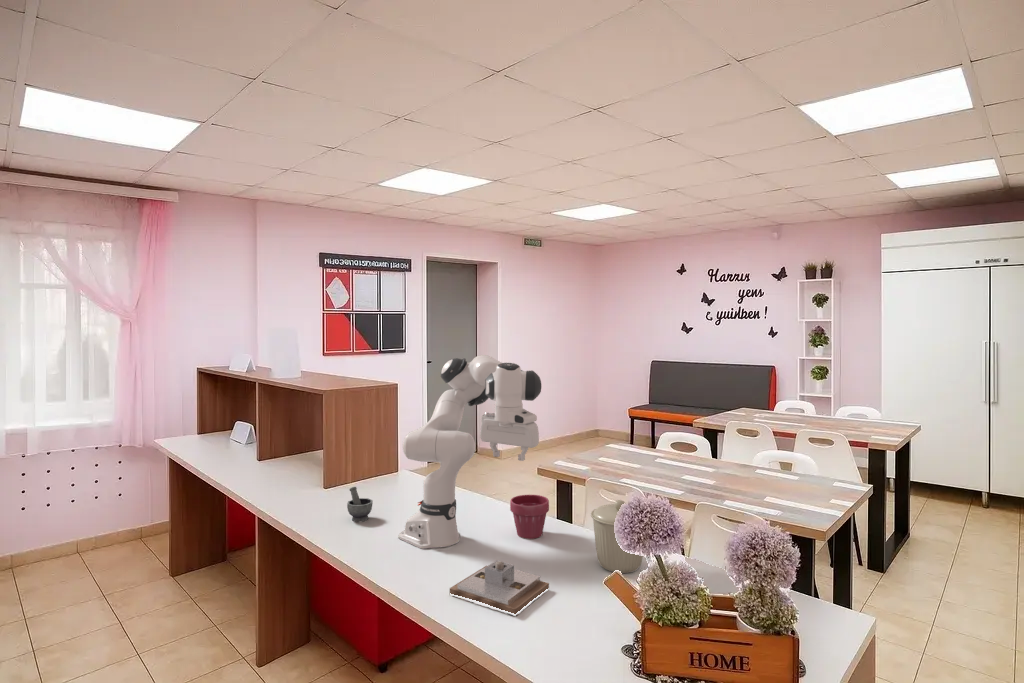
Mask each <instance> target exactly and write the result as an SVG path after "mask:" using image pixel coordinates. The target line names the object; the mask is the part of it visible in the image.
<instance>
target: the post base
mask: <svg viewBox="0 0 1024 683" xmlns="http://www.w3.org/2000/svg"><path fill="white" fill-rule="evenodd" d="M497 561H498V562H496V563H495V568H496V569H500V570H502V569H503V568H504V563H505V562H504V561H501V560H497ZM487 566H488V565H485V566H483V567H482V568H480V569H478V570H477V571H475V572H474V573H472V574H470V575H469V576H467V577H465V578H464V579H462V580H460V581H459V582H457V583H455V584H454V585H452V586H451V587H449V594H450V593H451V594H454V595H458V596H462V597H465V598H469V599H472V600H476V601H479V602H482V603H485V604H488V605H490V606H493V607H496V608H499V609H501V610H505V611H508V612H511V613H514V614H516V613H517V612H518V611H520V610H521V609H522V608H523V607H524V606H526V605H527V604H528V603H529V602H530V601H532V600H533V599H534V598H536V597H537V596H538V595H540V594H541V593H542V592H544V591H545V590H546V589H548V588H549V589H550V583H549V582H546V581H543V580H540V582H539V583H538V584H536V585H535V586H534V587H532V588H531V589H530V590H529V591H527V592H526V593H525V594H523V595H522V596H521V597H519V598H518V599H517V600H515V601H514V602H513V603H511V604H510V605H509V606H507V605H504V604H500V603H497V602H494V601H491V600H488V599H485V598H482V597H479V596H476V595H472V594H469V593H466V592H463V591H460V590H458V584H459V583H461V582H462V581H464V580H466V579H467V578H469V577H470V576H472V575H474V574H475V573H477V572H479V571H480V570H482V569H483V568H485V567H487ZM480 578H482V579H485V576H484V575H482V576H480ZM514 588H515V589H519V590H520V589H521V588H520V586H515V587H514Z"/></svg>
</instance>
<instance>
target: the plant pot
mask: <svg viewBox="0 0 1024 683" xmlns="http://www.w3.org/2000/svg"><path fill="white" fill-rule="evenodd" d="M509 506H510V507H509V509H510V512H511V513H512V515H513V519H514V525H515V530H516V534H517V536H518V537H519V538H522V539H527V540H528V539H529V540H531V539H532V540H533V539H538V538H541V537H542V536H543V531H544V528H545V523H546V517H547V513H548V512H549V511H550V501H549V499H548V498H547V497H546V496H544V495H540V494H521V495H520V494H519V495H517V496H513V497H512V498H510V504H509Z"/></svg>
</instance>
